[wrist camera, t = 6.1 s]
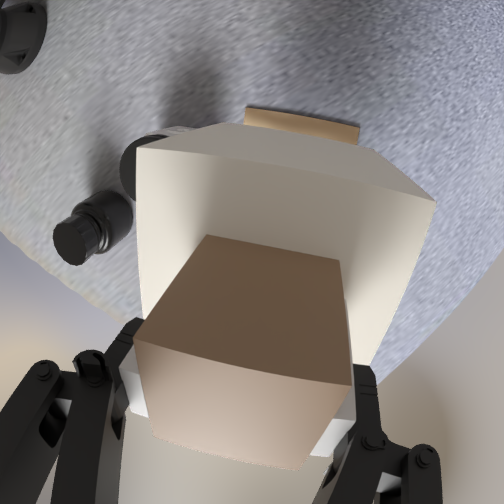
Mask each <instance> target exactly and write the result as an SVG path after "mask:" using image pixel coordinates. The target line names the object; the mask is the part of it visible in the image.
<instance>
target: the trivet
mask: <svg viewBox="0 0 504 504" xmlns="http://www.w3.org/2000/svg"><path fill="white" fill-rule="evenodd" d="M244 125H250V126H257V127H264V128H270V129H277V130H283V131H289V132H295V133H300V134H306V135H311V136H316V137H321V138H326V139H331V140H335V141H340V142H344V143H349V144H353V145H357V140H358V135H359V129H360V128H358V127H354V126H350V125H345V124H341V123H336V122H332V121H327V120H322V119H317V118H311V117H306V116H301V115H295V114H289V113H283V112H276V111H269V110H262V109H254V108H246V109H245V117H244Z"/></svg>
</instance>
